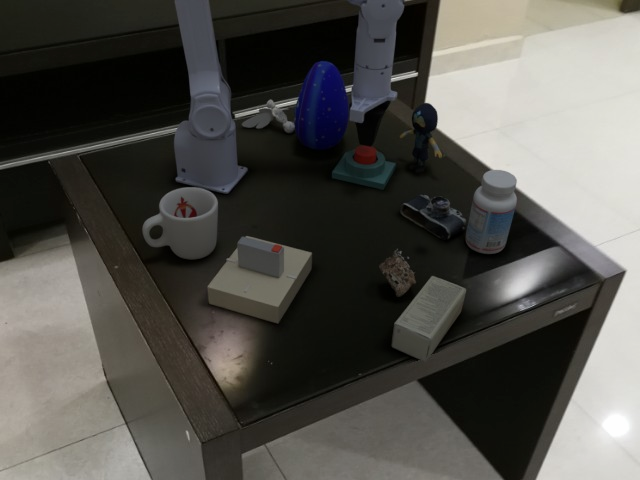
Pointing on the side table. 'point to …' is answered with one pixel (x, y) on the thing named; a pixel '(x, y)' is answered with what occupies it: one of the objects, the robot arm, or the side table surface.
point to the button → (365, 155)
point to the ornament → (322, 108)
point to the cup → (186, 222)
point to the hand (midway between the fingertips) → (366, 143)
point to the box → (428, 318)
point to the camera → (434, 215)
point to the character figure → (423, 135)
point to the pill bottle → (492, 212)
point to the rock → (398, 273)
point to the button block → (364, 171)
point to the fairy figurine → (269, 118)
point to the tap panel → (260, 285)
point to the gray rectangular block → (260, 256)
